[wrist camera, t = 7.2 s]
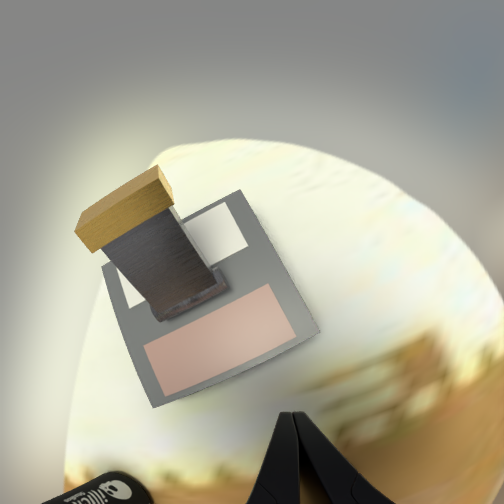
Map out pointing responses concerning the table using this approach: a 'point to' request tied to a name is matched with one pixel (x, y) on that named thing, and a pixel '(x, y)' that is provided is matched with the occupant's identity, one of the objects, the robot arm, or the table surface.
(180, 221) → the breaker lever
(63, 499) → the beverage can
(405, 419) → the table surface
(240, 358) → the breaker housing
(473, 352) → the table surface
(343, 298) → the table surface
